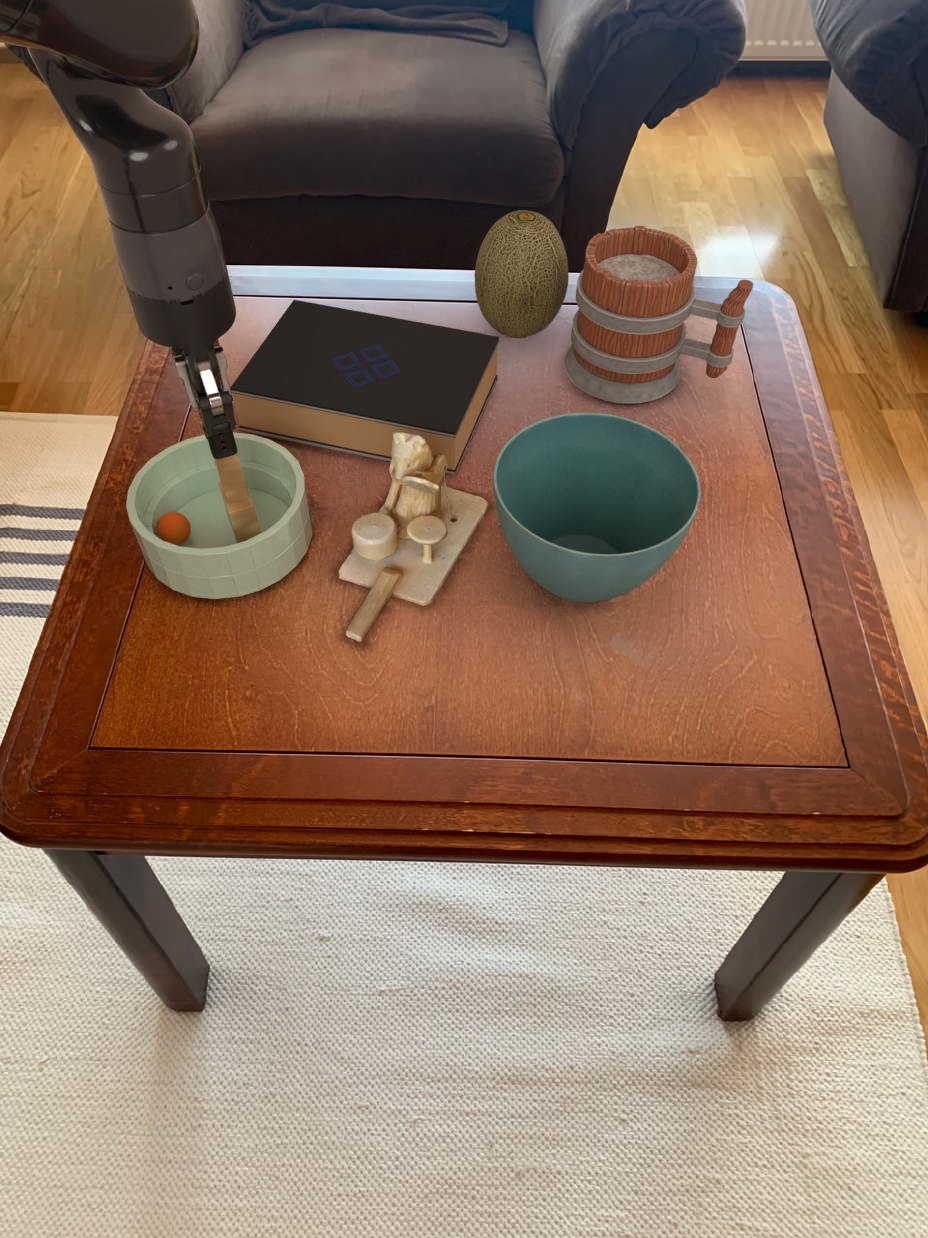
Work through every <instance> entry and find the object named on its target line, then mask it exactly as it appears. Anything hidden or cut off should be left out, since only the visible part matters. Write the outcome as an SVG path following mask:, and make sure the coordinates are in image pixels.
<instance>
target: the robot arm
mask: <svg viewBox="0 0 928 1238" xmlns="http://www.w3.org/2000/svg"><path fill="white" fill-rule="evenodd" d="M0 43H1V44H6V45H12V46H16V47H17V46H18V47H24V48H26V49H27V51H28V54H29V56H30V58H31V60H32V62H33V63H34V65H35V67H36V69H37V71H38V74H39V76H40V77H41V79H42V81H43V82H44V84H45V86H46V87H47V89H48V90H49V91H48V92H50V94H51V96H52V98H53V99H54V101H55V103H56V105H57V106H58V108H59V110H60V112H61V113H62V115H63V118H64V119H65V120H66V122H67V124H68V126H69V127H70V130H72V132H73V134H74V135H75V137H76V138H77V140H78V142H79V143H80V145H81V146H82V148H83V150H84V151H85V152H86V155H87V156H88V158H89V160H90V163H91V166H92V171H93V173H94V177H95V179H96V183H97V186H98V190H99V193H100V196H101V199H102V202H103V205H104V208H105V209H104V210H105V212H106V215H107V219H108V223H109V227H110V234H111V240H112V245H113V249H114V253H115V256H116V260H117V262H118V266H119V269H120V272H121V275H122V279H123V283H124V285H125V288H126V291H127V294H128V298H129V301H130V304H131V307H132V310H133V313H134V316H135V320H136V323H137V326H138V329H139V331H140V332H141V334H142V335H143V336H144V337H145V338H146V339H147V340H149V341H151V342H152V343H154V344H156V345H159V346H162V347H166V348H168V349H169V353H170V355H171V358H172V360H173V362H174V366H175V369H176V372H177V374H178V377H179V379H180V380H181V381H182V384H183V386H184V388H185V393H186V396H187V398H188V401H189V404H190V406H191V408H193V409H195V410H197V412H198V417H199V423H200V424H199V425H200V426H201V427H202V431H203V433H204V434H203V435H205V437H206V439H207V440H208V443H209V447H210V450H211V453H212V456H213V458H215V459H221V458H225V457H229V456H233V455H235V454H236V453H237V446H236V442H235V438H234V434H233V432H234V431H235V430H237V421H236V418H235V417H236V416H235V409H234V403H233V402H234V396H233V393H231V388H230V387H231V385H230V381H229V378H228V373H227V370H228V367H229V365H228V361H227V357H226V353H225V350H224V347H223V344H222V345H221V344H220V341H219V339H220V338H221V337H222V336H224V335H225V334H227V333H228V332H229V331H230V329H231V328H232V327H233V325H234V323H235V321H236V317H237V308H236V303H235V299H234V294H233V288H232V283H231V280H230V276H229V275H230V274H229V270H228V267H227V266H228V265H227V261H226V256H225V253H224V247H223V243H222V239H221V233H220V230H219V226H218V224H217V221H216V218H215V216H214V213H213V211H212V207H211V204H210V201H209V194H208V191H207V186H206V181H205V177H204V173H203V168H202V164H201V159H200V155H199V151H198V147H197V143H196V140H195V137H194V134H193V132H192V129H191V128H190V126H189V124H187V122H186V121H185V120H184V119H183V118H182V117H181V116H180V115H178V114H176V113H175V112H173V111H171V110H170V109H168V108H166V107H164V106H162V105H161V104H159V103H158V102H156V101H154V100H153V99H152V98H150V97H149V96H148V95H147V94H146V93H145V92H144V90H147V91H148V90H149V91H150V90H152V91H153V90H161V89H165V88H167V87H170V86H172V85H173V84H175V83H177V82H178V81H179V80H181V79H182V78H183V77H184V76H185V75H186V74H187V72H188V71H189V70H190V68H191V67H192V65H193V63H194V61H195V59H196V56H197V53H198V50H199V44H200V22H199V16H198V12H197V8H196V5H195V2H194V0H0Z"/></svg>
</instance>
